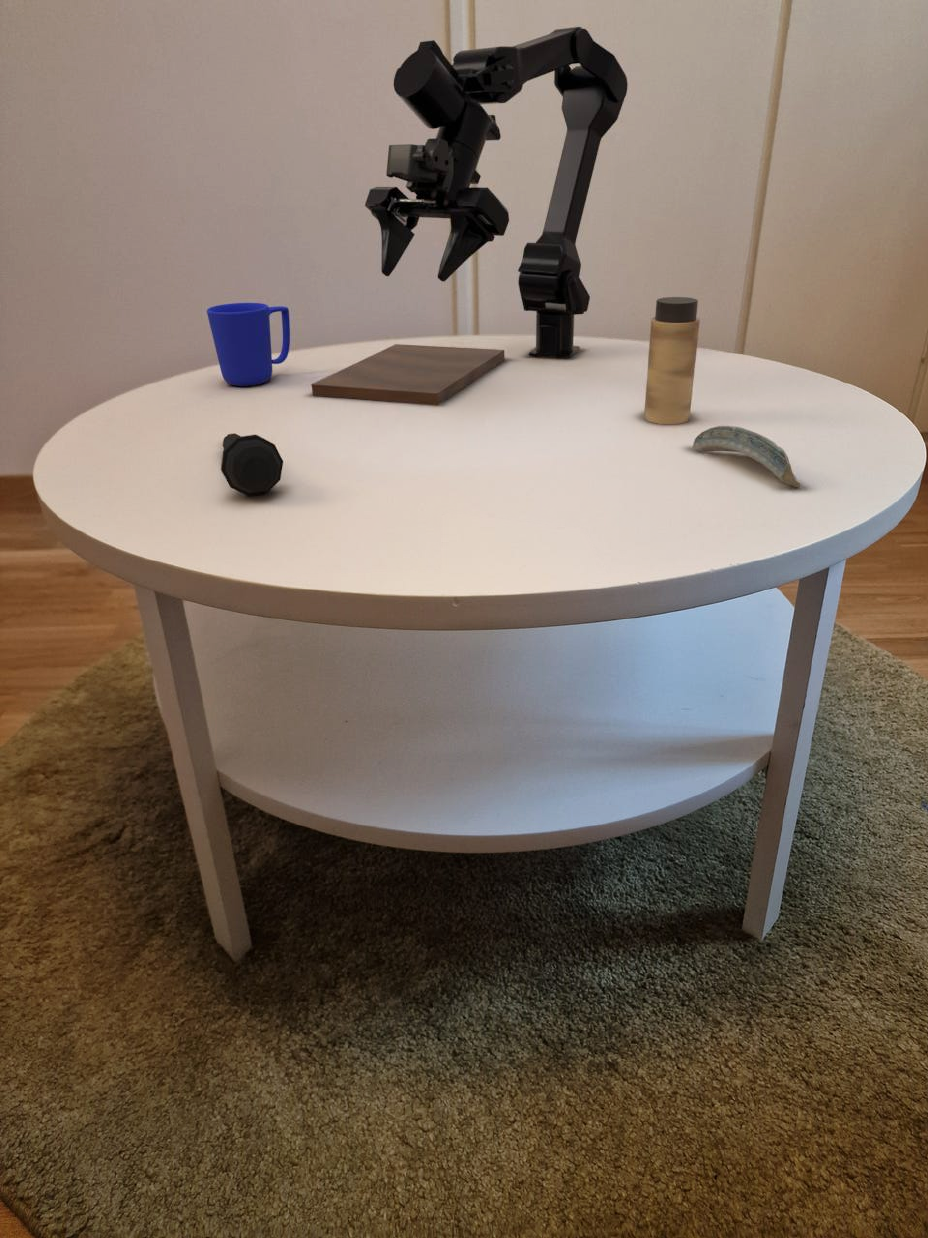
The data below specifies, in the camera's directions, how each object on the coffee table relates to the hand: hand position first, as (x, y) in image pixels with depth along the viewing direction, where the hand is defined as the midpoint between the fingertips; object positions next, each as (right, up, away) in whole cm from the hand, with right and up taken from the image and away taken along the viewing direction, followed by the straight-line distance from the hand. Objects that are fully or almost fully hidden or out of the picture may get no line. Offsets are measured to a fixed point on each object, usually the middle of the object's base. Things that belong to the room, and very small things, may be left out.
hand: (412, 277), depth 103 cm
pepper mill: (+30, -18, -4) cm, 35 cm away
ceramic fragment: (+34, -27, -19) cm, 47 cm away
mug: (-23, -7, +18) cm, 30 cm away
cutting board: (-1, -7, +17) cm, 19 cm away
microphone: (-15, -26, -16) cm, 34 cm away
